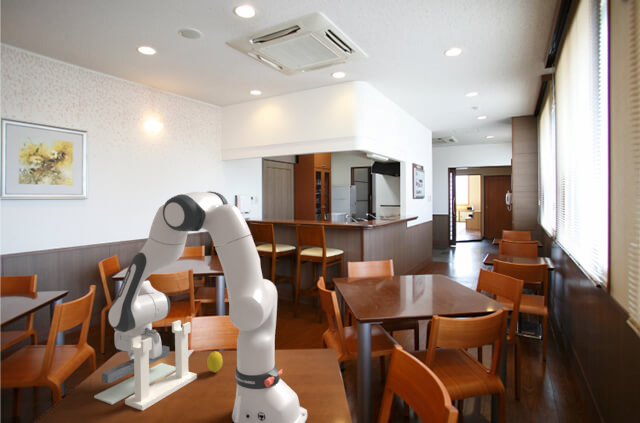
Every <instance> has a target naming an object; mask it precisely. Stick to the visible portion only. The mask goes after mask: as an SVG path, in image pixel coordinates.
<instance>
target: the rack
mask: <svg viewBox="0 0 640 423" xmlns="http://www.w3.org/2000/svg"><path fill="white" fill-rule="evenodd" d="M191 327H192V326H191V322H190V321H188V322H185V323H183V324H182V320H180V319H178V320H175V321H173V322H171V332H172V334H174V346H175V349H174V350H175V354H174V355H175V356H174V357H175V359H174V360H175V367H176V371H174V372H172V373H170V374H168V375H167V376H165V377H163V378H161V379H159V380H157V381H155V382H154V383H152V384H149V369H150V364H149V350H151V349H152V338H147V339H145V340H142V341H141V335H138V336H136V337H133V338H131V350H134V372H133V373H134V376H133V377H134V383H135V393H133V394H131V395H130V396H128V397H126V398H124V403H125V405H127V406H129V407H131V408H134V409H137V410H141V411H144V410H146V409H148V408H149V407H151V406H152V405H155V404H156V403H157V402H159V401H161V400H163V399H164V398H166V397H168V396H170V395H171V394H173V393H174V392H177V391H178V390H179V389H181V388H183V387H184V386H186V385H188V384H189V383H191V382H193V381H194V380H196V379H198V374H197V373H194V372H191V371H189V357H188V350H189V334H190V333H191V332H192V328H191Z"/></svg>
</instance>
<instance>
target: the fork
mask: <svg viewBox="0 0 640 423" xmlns="http://www.w3.org/2000/svg"><path fill="white" fill-rule="evenodd" d="M194 350H195V349H188V358H189V357H190V356H191V355H192V353H193V352H194Z"/></svg>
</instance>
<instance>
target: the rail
mask: <svg viewBox="0 0 640 423" xmlns="http://www.w3.org/2000/svg"><path fill="white" fill-rule="evenodd" d="M169 355H170V346H167V345H162V354H161V355H160V356H158V357H156V358H154V359H151V358H149V365H151V364H153V363H156V362H157V361H159V360H161V359H164V358H167V357H168V356H169ZM132 373H134V359H132V360H130V359H129V360H128V361H125V362H123V363H121V364H119V365H116V366H114V367H111V368H109V369H107V370H104V371H102V372H101V383H103V384H107V385H109V384H111V383H113V382H115V381H117V380H120V379H122V378H123V377H125V376H128V375H130V374H132Z"/></svg>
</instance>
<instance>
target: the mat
mask: <svg viewBox="0 0 640 423" xmlns="http://www.w3.org/2000/svg"><path fill="white" fill-rule="evenodd" d="M175 372H176V366H174V365H170V364H167V363H164V362H160V363H158V364H156V365H154V366H152V367H149V385H152V384H154V383H156V382H158V381H160V380H162V379H164V378H165V377H167V376H169V375H171V374H173V373H175ZM134 394H135V383H134V376H131V377H129V378H128V379H125V380H123V381H122V382H119V383H118V384H116V385H113V386H111V387H109V388H107V389H104V390H103V391H101V392H99V393H97V394H95V395H93V396H94V397H93V398H94V399H97V400H99V401H102V402H104V403H107V404H110V405H114V404H116V403H118V402H120V401H121V400H124V399H126V398H128V397H130V396H132V395H134Z"/></svg>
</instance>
